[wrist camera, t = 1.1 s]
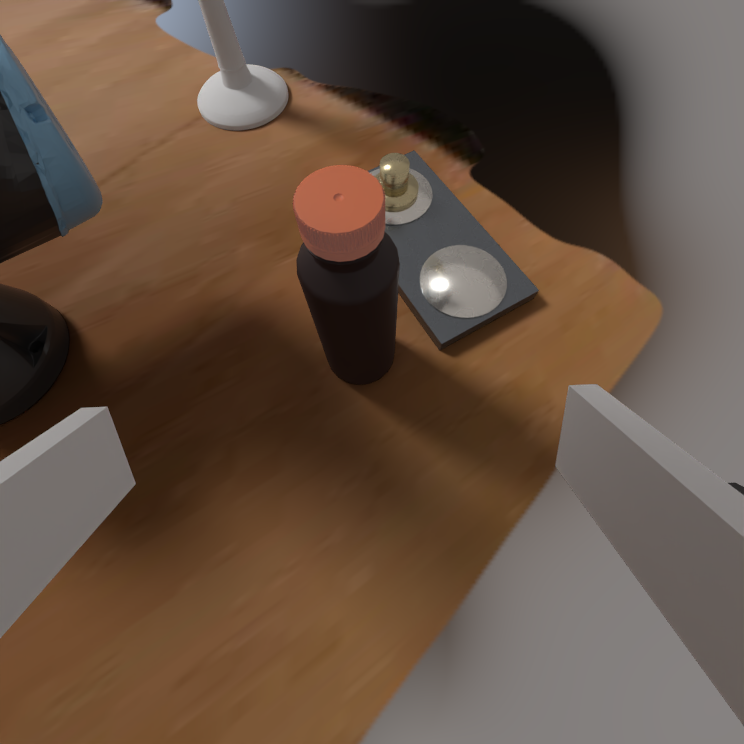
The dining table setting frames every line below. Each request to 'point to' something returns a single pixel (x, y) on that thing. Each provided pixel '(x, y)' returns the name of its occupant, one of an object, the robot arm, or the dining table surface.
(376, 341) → the vinegar
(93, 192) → the robot arm
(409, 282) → the plate
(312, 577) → the dining table surface
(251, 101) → the candlestick
